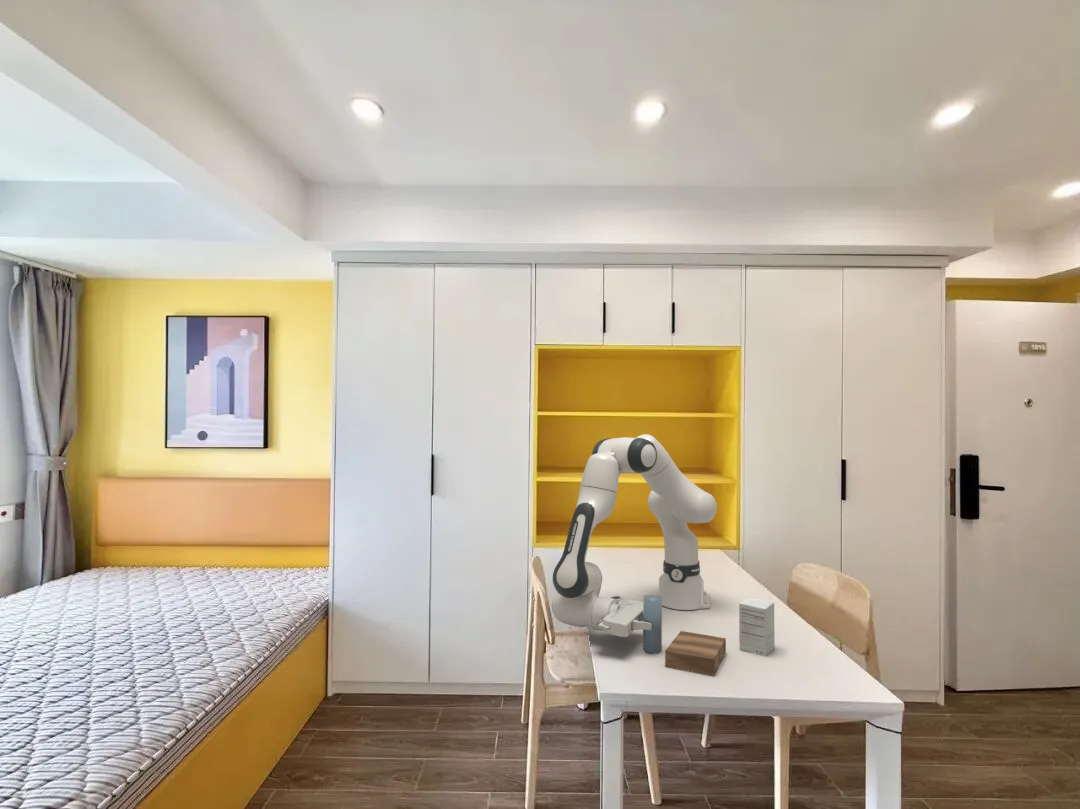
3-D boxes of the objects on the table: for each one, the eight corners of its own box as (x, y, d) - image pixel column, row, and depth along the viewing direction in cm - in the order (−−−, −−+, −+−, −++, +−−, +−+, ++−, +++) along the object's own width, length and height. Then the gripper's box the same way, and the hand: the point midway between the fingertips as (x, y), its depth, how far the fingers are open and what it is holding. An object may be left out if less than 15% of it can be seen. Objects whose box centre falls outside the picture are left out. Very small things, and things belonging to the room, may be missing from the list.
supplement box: (748, 642, 169) (748, 596, 170) (775, 648, 165) (775, 601, 165) (738, 649, 164) (738, 602, 164) (766, 656, 159) (765, 608, 159)
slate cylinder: (645, 645, 166) (646, 594, 167) (663, 648, 164) (664, 596, 164) (640, 651, 162) (641, 598, 162) (658, 655, 160) (659, 601, 160)
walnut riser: (680, 645, 166) (680, 630, 167) (725, 653, 161) (725, 638, 161) (665, 666, 152) (665, 650, 152) (713, 676, 147) (713, 659, 147)
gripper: (593, 614, 160) (643, 622, 154) (619, 594, 178) (665, 600, 172) (593, 638, 160) (643, 647, 153) (619, 615, 178) (665, 623, 172)
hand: (655, 622), depth 163 cm, fingers closed on slate cylinder, 5 cm apart
